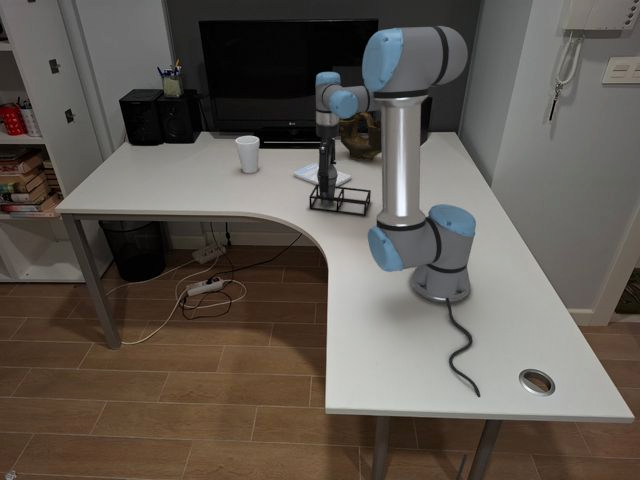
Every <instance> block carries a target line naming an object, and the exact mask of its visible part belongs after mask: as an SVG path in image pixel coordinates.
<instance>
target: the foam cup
mask: <svg viewBox="0 0 640 480" xmlns="http://www.w3.org/2000/svg"><path fill="white" fill-rule="evenodd" d="M234 143H235V147H236V151H237V154H238V159H239V163H240V166H241V169H242V172H243V173H245V174H246V173H247V174H253V173H256V172H257V171H258V169H259V158H260V157H259V153H260V138H259V137H257V136H253V135H243V136H239V137H237V138H235V142H234Z"/></svg>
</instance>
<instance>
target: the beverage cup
mask: <svg viewBox="0 0 640 480" xmlns="http://www.w3.org/2000/svg"><path fill="white" fill-rule="evenodd" d="M330 159H331V155H330V156H329V166H328V175H329V192H328V193H325V192H320V176H319V175H318V173H319V169H318V173H317V178H318V182H319V186H318V193H319V195H320V197H324V198H332V199H334V197H335V196H336V195H335V194H336V188H335V186H336V181H337V176H338V174H337V171H338V169H337V168H336V167H335V165H334V164H333V165H334V166H333V165H332V164H330ZM319 202H320V206H321V207H323V208H332V207H333V206H334V203H335V201H330V200H322V199H319Z"/></svg>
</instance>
